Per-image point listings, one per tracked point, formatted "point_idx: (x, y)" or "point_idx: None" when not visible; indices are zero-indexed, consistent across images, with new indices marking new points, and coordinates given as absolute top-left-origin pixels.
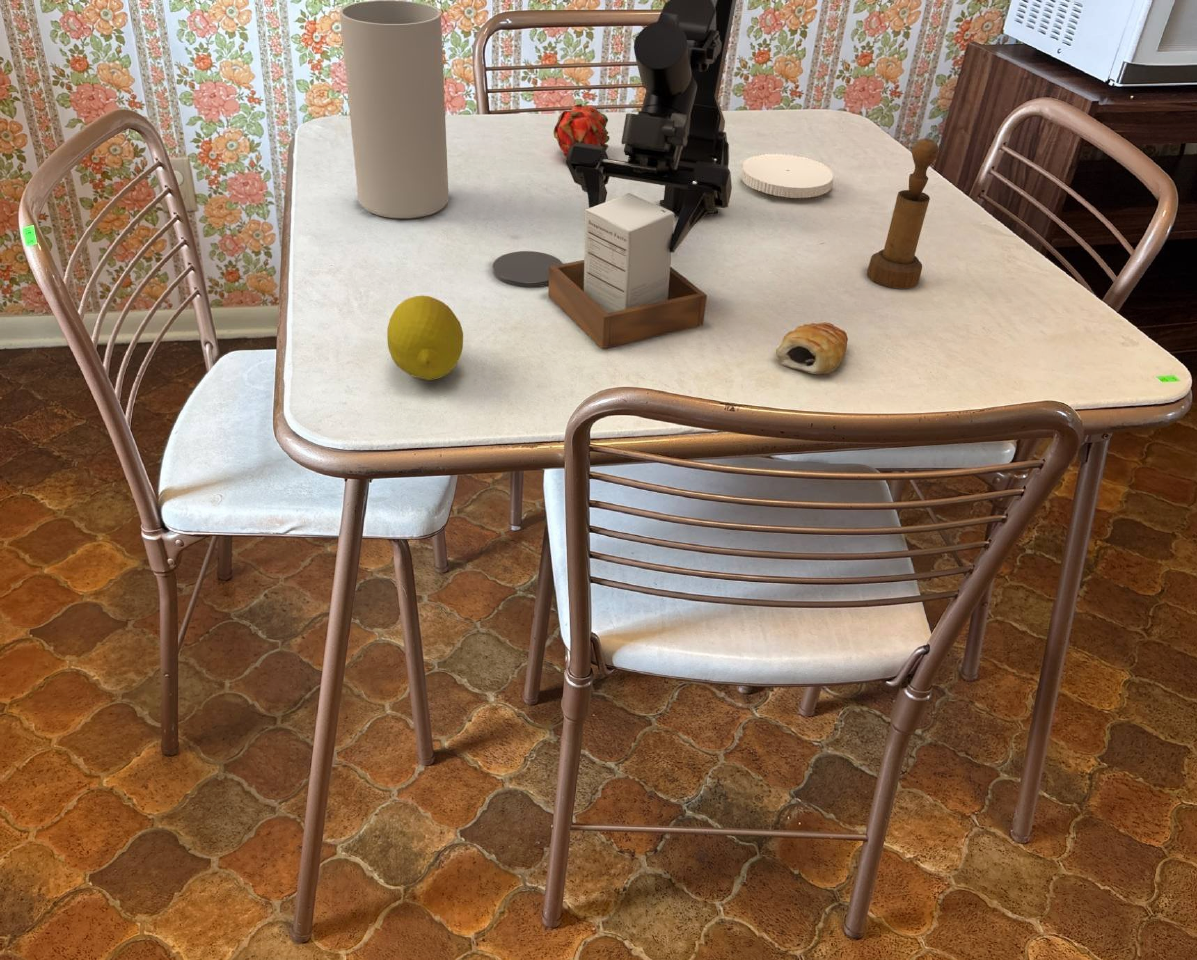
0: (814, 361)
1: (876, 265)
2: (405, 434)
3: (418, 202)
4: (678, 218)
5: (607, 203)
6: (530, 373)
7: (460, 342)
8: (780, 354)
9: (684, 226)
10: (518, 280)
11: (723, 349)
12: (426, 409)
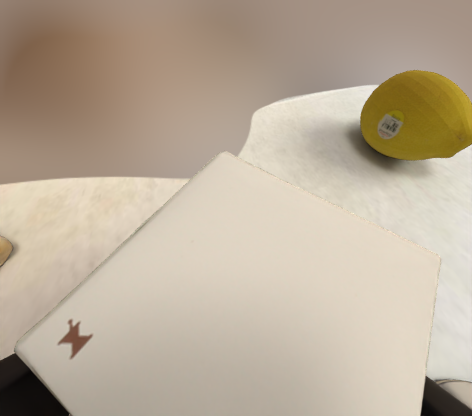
0: None
1: None
2: (343, 93)
3: None
4: (6, 388)
5: (399, 357)
6: (300, 164)
7: (369, 109)
8: (3, 238)
9: (5, 360)
10: (462, 388)
11: (84, 263)
12: (349, 113)
